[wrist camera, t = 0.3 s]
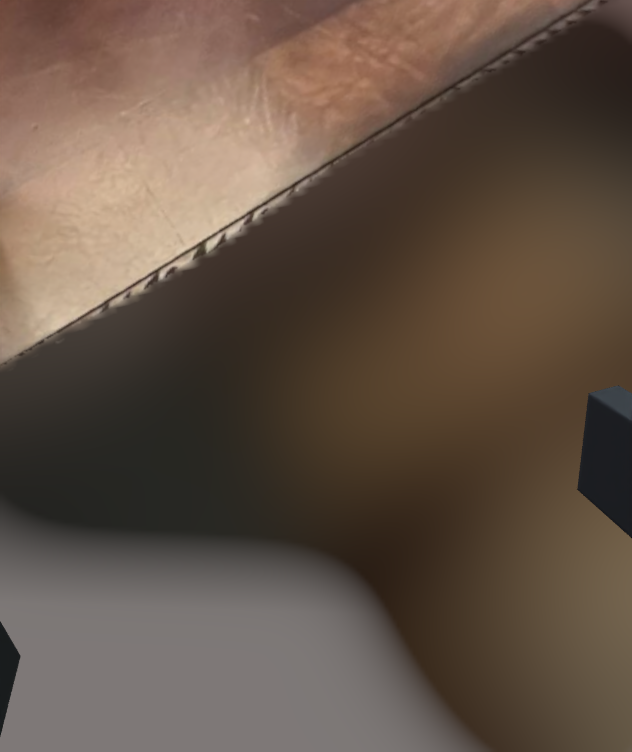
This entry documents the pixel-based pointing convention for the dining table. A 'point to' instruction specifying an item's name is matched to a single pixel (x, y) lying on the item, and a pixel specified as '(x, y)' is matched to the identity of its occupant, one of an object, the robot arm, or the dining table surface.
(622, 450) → the robot arm
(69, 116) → the dining table surface
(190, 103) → the dining table surface
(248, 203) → the dining table surface
